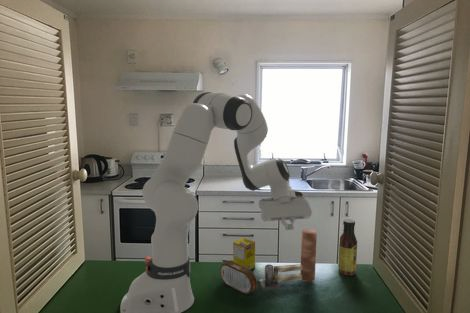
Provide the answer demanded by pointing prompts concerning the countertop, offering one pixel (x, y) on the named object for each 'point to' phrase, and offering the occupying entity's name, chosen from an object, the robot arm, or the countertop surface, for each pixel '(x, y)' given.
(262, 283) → the hinge post
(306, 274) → the wooden dowel roller
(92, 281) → the countertop surface
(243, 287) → the tin
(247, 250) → the supplement box
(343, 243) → the sauce bottle
